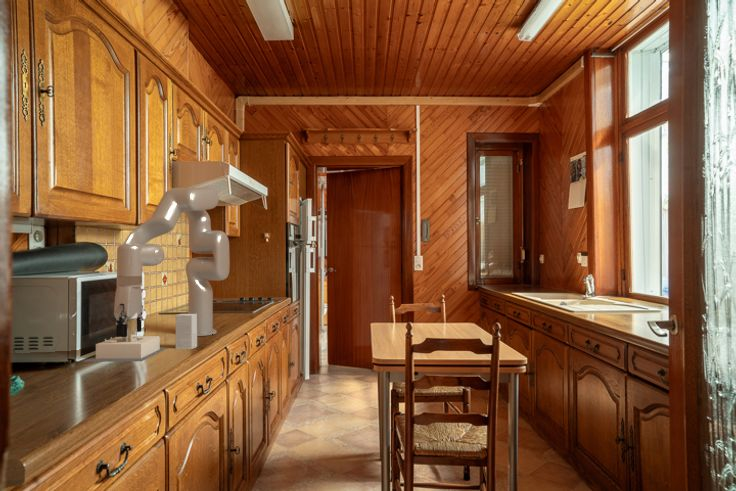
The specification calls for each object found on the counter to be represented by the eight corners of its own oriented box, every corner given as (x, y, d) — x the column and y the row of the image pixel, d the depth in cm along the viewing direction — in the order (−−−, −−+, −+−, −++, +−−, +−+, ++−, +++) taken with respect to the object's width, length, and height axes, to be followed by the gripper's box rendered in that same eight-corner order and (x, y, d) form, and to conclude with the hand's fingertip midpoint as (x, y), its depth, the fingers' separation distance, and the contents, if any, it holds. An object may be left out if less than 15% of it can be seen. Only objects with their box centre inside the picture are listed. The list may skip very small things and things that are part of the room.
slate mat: (115, 349, 165) (115, 348, 165) (167, 349, 166) (167, 348, 166) (81, 362, 145) (81, 361, 145) (141, 362, 146) (141, 361, 146)
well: (118, 349, 163) (118, 336, 163) (159, 349, 164) (159, 336, 164) (95, 358, 149) (95, 344, 149) (140, 358, 150) (141, 344, 150)
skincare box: (197, 347, 169) (197, 313, 169) (191, 350, 164) (191, 315, 164) (180, 347, 169) (181, 313, 169) (174, 349, 165) (175, 315, 165)
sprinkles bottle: (138, 353, 156) (138, 312, 156) (122, 355, 154) (122, 313, 154) (136, 351, 160) (136, 311, 160) (120, 353, 157) (121, 312, 158)
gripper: (130, 280, 165) (130, 330, 165) (104, 283, 148) (103, 339, 148) (152, 280, 166) (152, 329, 165) (128, 283, 148) (128, 338, 148)
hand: (129, 334), depth 157 cm, fingers open, 9 cm apart
